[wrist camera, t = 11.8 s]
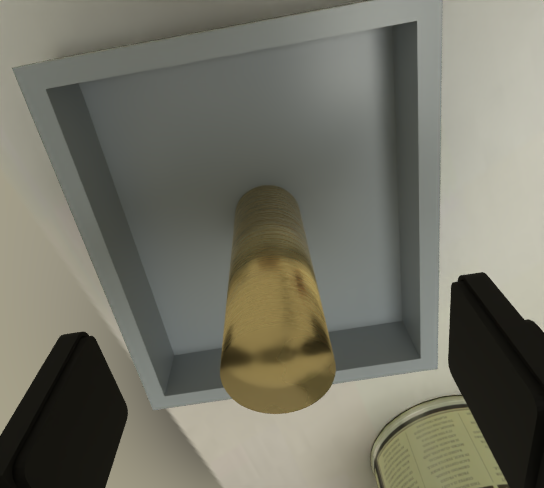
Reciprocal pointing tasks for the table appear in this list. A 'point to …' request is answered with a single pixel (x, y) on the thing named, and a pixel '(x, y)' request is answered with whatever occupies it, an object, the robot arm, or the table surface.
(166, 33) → the table surface
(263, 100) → the pin tray
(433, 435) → the coffee can
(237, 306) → the pin
